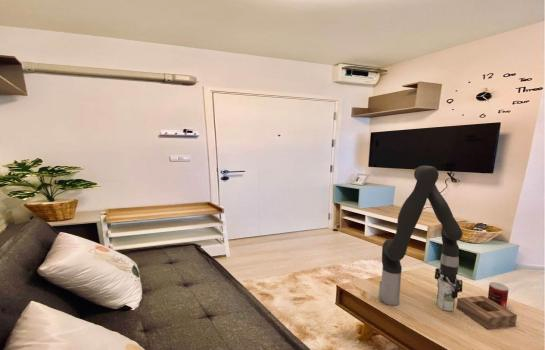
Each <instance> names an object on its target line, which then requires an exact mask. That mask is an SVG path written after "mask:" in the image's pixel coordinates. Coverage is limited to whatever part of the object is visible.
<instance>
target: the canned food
mask: <svg viewBox="0 0 545 350" xmlns="http://www.w3.org/2000/svg"><path fill="white" fill-rule="evenodd" d="M508 296H509V287H508V286H506V285H505V284H502V283H500V282H493V281H491V282H489V285H488V292H487V298H488V299H490V300H492V301H493V302H495V303H497V304H499V305H500V306H502V307H504V308H506V309H507V305H508V304H507V303H508Z"/></svg>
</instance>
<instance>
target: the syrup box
mask: <svg viewBox="0 0 545 350" xmlns="http://www.w3.org/2000/svg"><path fill="white" fill-rule="evenodd" d="M452 284H453V285H454V283H452ZM454 288H455V286H454ZM452 291H453V290H452V287H451V286H450V285H449V283H448V282H446V281H445V280H443V279H439V284H438V283H437V296H436V301H435V303H436V305H437V306H438V308H439V309H440V310H441V311H444V312H454V311H455V305H456V304H455V303H456V302H455V301H456V298H452Z"/></svg>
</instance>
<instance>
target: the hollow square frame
mask: <svg viewBox="0 0 545 350" xmlns="http://www.w3.org/2000/svg"><path fill="white" fill-rule="evenodd" d="M456 299H457V301H456V309H457V310H459V311H460V312H461V313H463V314H464V315H466V316H467V317H469V318H470V319H472V320H473V321H474V322H476V323H478V324H479V325H480V326H482V327H483V328H484V329H486V330H495V329H503V328H504V329H505V328H511V327H512V328H513V327H516V326H517V319H518V315H517V314H516V313H514V312H512V311H511V310H509V309H507V307H506V308H504V307H502V306H500V305H499V304H497V303H495V302H493V301H492V300H490V299H488V297H487V296H484V295H477V296H466V297H457V298H456Z"/></svg>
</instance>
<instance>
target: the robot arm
mask: <svg viewBox="0 0 545 350" xmlns="http://www.w3.org/2000/svg"><path fill="white" fill-rule="evenodd" d="M413 176H414V177H413V178H414V179H415V181H416V183H415V185H414V187H413V190H412V192H411V193H410V194H409V196H408V197H407V198H406V199H405V200H404V202H403V203H402V205H401V208H400V210H399V213H398V215H397V216H398V217H397V223H396V231H395V235H394V237H393V238H388V239H386V240H385V241H384V242H383V244H382V246H381V247H382V249H381V263H382V271H381V281H379V288H378V299H379V300H380V301H381V302H382V303H383V304H384V305H389V306H397V305H399V304H400V295H401V293H400V292H401V280H402V271H403V270H402V263H401V260H403V258H404V257H405V256H406V253H407V250H408V247H409V244H410V240H411V237H412V236H413V233H414V231H415V228H416V226H417V223H418V222H419V220H420V218H421V215H422V213H423V210H424V208H425V205H426V202H427V200H428V202H429V204H430V206H431V208H432V211H433V212H434V215H435V217H436V219H437V221H438V222H439V223H440V224H441V227H442V228H441V232H440V233H441V242H442V247H441V255H440V263H439V265H440V266H439V267H438V268H435V273H434V279H435V280H436V281H437V285H438V284H439V279H443V280H445V281H446V282H448V283H449V285H450V286H451V287H452V290H453V291H452V298H455V299H457V298H458V296H459V295H458V293H462V292H463V280H462V279H459V278H457V275H458V274H459V262H460V261H459V260H460V259H459V254H460V247H459V244H458V242H457V241H460V240H461V239H462V238H463V230H462V228H461V227H460V225H459V223H458V221H457V220H456V219H455V217H454V215H453V212H452V209H451V208H450V206H449V204H448V202H447V201H446V199H445V198H444V197H443V195H442V194H441V192H440V191H439V189H438V187H437V184H436V183H437V181H438V179H439V171H438V169H437V168H436V167H434V166H431V165H419V166H418V167H416V168H415V170H414V172H413ZM452 283H454V285H453V284H452ZM454 286H455V288H454Z"/></svg>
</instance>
